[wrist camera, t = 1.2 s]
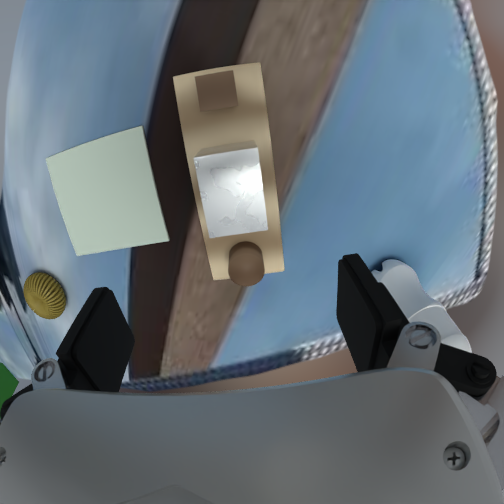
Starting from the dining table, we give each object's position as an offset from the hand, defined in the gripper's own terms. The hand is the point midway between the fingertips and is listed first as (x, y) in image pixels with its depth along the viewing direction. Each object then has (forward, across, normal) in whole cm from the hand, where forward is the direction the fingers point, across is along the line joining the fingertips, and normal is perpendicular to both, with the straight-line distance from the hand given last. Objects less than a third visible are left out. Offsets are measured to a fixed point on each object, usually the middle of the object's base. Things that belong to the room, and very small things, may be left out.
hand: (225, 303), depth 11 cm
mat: (+22, +16, 0) cm, 28 cm away
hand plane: (+22, 0, 0) cm, 22 cm away
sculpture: (+23, +32, +12) cm, 41 cm away
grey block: (+18, 0, 0) cm, 18 cm away
